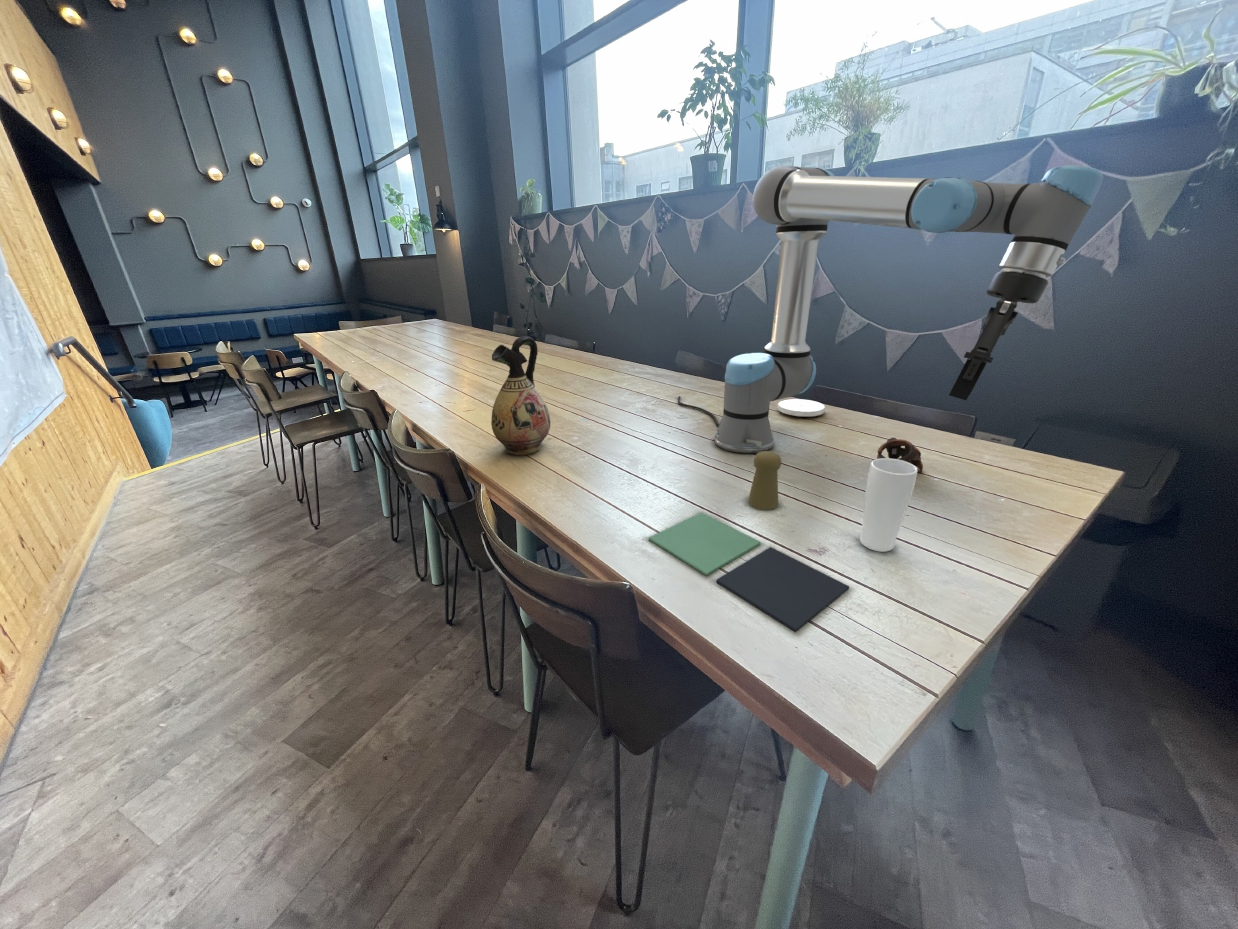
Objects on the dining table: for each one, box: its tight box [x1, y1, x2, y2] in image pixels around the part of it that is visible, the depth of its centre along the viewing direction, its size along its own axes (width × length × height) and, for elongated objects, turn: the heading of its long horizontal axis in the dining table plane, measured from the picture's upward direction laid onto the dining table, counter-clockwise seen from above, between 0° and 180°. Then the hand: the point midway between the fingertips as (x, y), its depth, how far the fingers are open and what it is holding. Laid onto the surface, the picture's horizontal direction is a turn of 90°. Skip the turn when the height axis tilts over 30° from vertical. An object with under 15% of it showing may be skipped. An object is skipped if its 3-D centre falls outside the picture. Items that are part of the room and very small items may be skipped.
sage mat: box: [648, 512, 762, 577], centre depth 84 cm, size 14×14×1 cm
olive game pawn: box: [747, 450, 782, 511], centre depth 94 cm, size 6×6×11 cm
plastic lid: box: [777, 398, 826, 417], centre depth 150 cm, size 14×14×2 cm
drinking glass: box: [859, 457, 919, 553], centre depth 79 cm, size 7×7×15 cm
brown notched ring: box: [876, 437, 924, 473], centre depth 109 cm, size 12×10×8 cm
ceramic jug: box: [490, 335, 551, 456], centre depth 123 cm, size 17×15×30 cm
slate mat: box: [715, 546, 850, 632], centre depth 72 cm, size 14×14×1 cm
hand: (959, 395), depth 87 cm, fingers open, 13 cm apart
